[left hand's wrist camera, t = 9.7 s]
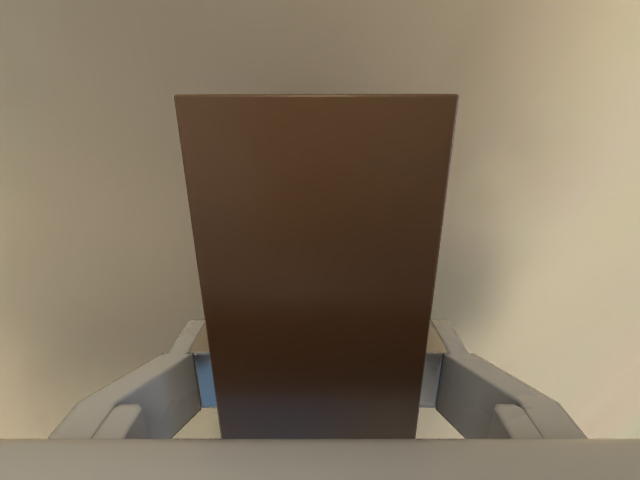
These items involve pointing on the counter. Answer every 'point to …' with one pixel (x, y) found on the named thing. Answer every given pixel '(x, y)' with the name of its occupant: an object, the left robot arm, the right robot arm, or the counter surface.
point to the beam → (317, 255)
